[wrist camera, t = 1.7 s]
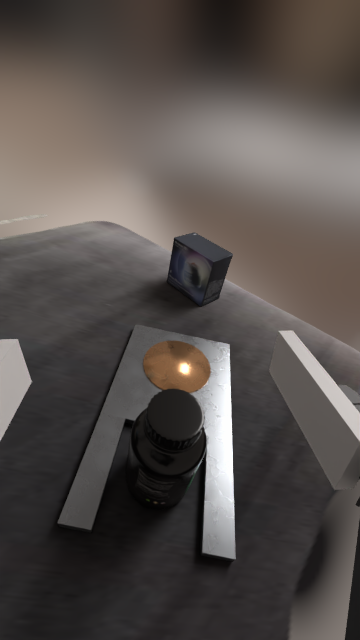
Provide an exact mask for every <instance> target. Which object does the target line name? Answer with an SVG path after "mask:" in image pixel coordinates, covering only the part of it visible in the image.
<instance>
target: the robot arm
mask: <svg viewBox="0 0 360 640" xmlns="http://www.w3.org/2000/svg"><path fill="white" fill-rule="evenodd" d="M269 372H270V374H271V376H272V378H273V379H274V381H275V383H276V385H277V387H278V389H279V390H280V392H281V394H282V396H283V398H284V399H285V401H286V403H287V405H288V407H289V408H290V410H291V412H292V414H293V416H294V418H295V419H296V421H297V423H298V425H299V427H300V428H301V430H302V432H303V434H304V436H305V438H306V439H307V441H308V443H309V445H310V447H311V448H312V450H313V452H314V454H315V456H316V457H317V459H318V461H319V463H320V465H321V467H322V468H323V470H324V472H325V474H326V476H327V477H328V479H329V481H330V483H331V485H332V487H333V488H334V490H338V489H349V488H354V487H355V485H356V483H357V482H358V480H359V479H360V396H359V395H358V393H356V392H355V391H354V390H352V389H351V388H349V387H348V386H346V385H337V384H336V383H335V382H334V381H333V379H332V378H331V377H330V376H329V375H328V373H327V372H326V371H325V370H324V368H323V367H322V366H321V365H320V364H319V362H318V361H317V360H316V359H315V357H314V356H313V355H312V354H311V352H310V351H309V350H308V349H307V348H306V346H305V345H304V344H303V343H302V341H301V340H300V339H299V338H298V337H297V335H296V334H295V333H294V332H293V331H279V332H278V336H277V340H276V344H275V348H274V352H273V357H272V361H271V365H270V369H269ZM31 382H32V381H31V378H30V375H29V372H28V369H27V366H26V363H25V360H24V357H23V354H22V351H21V348H20V345H19V342H18V339H4V340H0V440H1V439H2V437H3V435H4V433H5V431H6V429H7V427H8V425H9V423H10V422H11V420H12V418H13V416H14V414H15V412H16V410H17V408H18V407H19V405H20V403H21V401H22V399H23V397H24V395H25V393H26V391H27V390H28V388H29V386H30V384H31ZM356 505H357V506H360V498H359V499H358V501H357V503H356ZM345 640H360V521H359V529H358V537H357V546H356V554H355V563H354V570H353V578H352V586H351V594H350V603H349V611H348V619H347V627H346V635H345Z"/></svg>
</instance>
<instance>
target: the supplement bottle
mask: <svg viewBox="0 0 360 640" xmlns="http://www.w3.org/2000/svg"><path fill="white" fill-rule="evenodd" d="M204 420H205V416H204V411H203V407H202V406H201V403H200V402H199V401H198V399H197V398H195V397H194V396H193V395H191V394H190V393H189V392H186V391H184V390H180V389H174V388H173V389H167V390H163V391H161V392H158V394H156V395H154V397H153V398H152V399H151V400H150V402H149V403H148V407H147V408H146V409H144V410H143V411H142V412H141V413H140V414H139V415H138V417H137V418H136V420H135V422H134V424H133V426H132V430H131V435H130V442H129V450H128V458H127V466H126V482H127V486H128V489H129V491H130V493H131V495H132V496H133V498H134V499H135V500H136V501H137V502H138V503H140V504H141V505H142V506H144V507H146V508H149V509H153V510H162V509H167V508H170V507H172V506H174V505H175V504H176V503H178V502H179V501H180V500H181V499H182V497H183V496H184V495H185V493H186V491H187V490H188V488H189V486H190V484H191V482H192V480H193V477H194V475H195V473H196V471H197V469H198V467H199V465H200V463H201V461H202V459H203V457H204V454H205V451H206V446H207V437H206V432H205V429H204Z"/></svg>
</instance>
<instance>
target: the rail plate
mask: <svg viewBox="0 0 360 640" xmlns="http://www.w3.org/2000/svg"><path fill="white" fill-rule="evenodd" d="M173 388H174V389H180V390H184V391H186V392H189V393H190V394H191V395H193V396H194V397H195V398H197V399H198V401H199V402H200V403H201V406H202V407H203V411H204V416H205V420H204V429H205V432H206V437H207V446H206V451H205V462H204V482H203V502H202V522H201V542H200V555H201V556H206V557H211V558H216V559H221V560H225V561H230V562H233V561H234V560H235V526H234V491H233V457H232V422H231V387H230V353H229V344H225V343H220V342H216V341H211V340H206V339H202V338H197V337H193V336H188V335H183V334H179V333H174V332H169V331H165V330H160V329H155V328H151V327H146V326H142V325H137V324H136V325H135V327H134V330H133V332H132V335H131V337H130V340H129V343H128V345H127V348H126V350H125V353H124V355H123V358H122V360H121V363H120V365H119V368H118V370H117V373H116V376H115V378H114V381H113V383H112V386H111V388H110V391H109V393H108V396H107V398H106V401H105V404H104V406H103V409H102V411H101V414H100V416H99V419H98V421H97V424H96V426H95V429H94V431H93V434H92V437H91V439H90V442H89V444H88V447H87V449H86V452H85V454H84V457H83V459H82V462H81V464H80V467H79V470H78V472H77V475H76V477H75V480H74V482H73V485H72V487H71V490H70V492H69V495H68V497H67V500H66V503H65V505H64V508H63V510H62V513H61V515H60V518H59V520H58V527H63V528H68V529H73V530H78V531H83V532H88V533H92V529H93V526H94V523H95V520H96V516H97V513H98V510H99V506H100V503H101V500H102V497H103V493H104V490H105V487H106V484H107V480H108V477H109V474H110V470H111V467H112V464H113V461H114V457H115V454H116V451H117V448H118V444H119V441H120V438H121V434H122V431H123V428H124V425H125V423H127V424H132V425H133V424H134V422H135V420H136V418H137V417H138V415H139V414H140V413H141V412H142V411H143V410H144V409H146V408H147V407H148V403H149V402H150V400H151V399H152V398H153V397H154V395H156V394H158V392H161V391H163V390H167V389H173Z"/></svg>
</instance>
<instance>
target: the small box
mask: <svg viewBox="0 0 360 640" xmlns="http://www.w3.org/2000/svg"><path fill="white" fill-rule="evenodd" d="M232 256H233V254H232V253H230V252H229V251H227V250H225V249H223V248H221V247H220V246H218V245H216V244H214V243H212V242H211V241H209V240H207V239H205V238H204V237H202V236H200V235H198V234H197V233H191V234H186V235H183V236H179V237H175V238H174V243H173V249H172V255H171V261H170V267H169V272H168V278H167V282H168V283H169V284H170V285H172V286H173V287H175V288H176V289H177V290H179V291H180V292H181V293H183V294H184V295H186V296H187V297H188V298H190V299H191V300H192V301H194V302H195V303H196V304H198V305H199V306H200V307H201V306H204V305H206V304H208V303H210V302H212V301H214V300H216V299H218V298H219V296H220V292H221V289H222V286H223V283H224V280H225V276H226V273H227V270H228V267H229V264H230V261H231V259H232Z"/></svg>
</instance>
